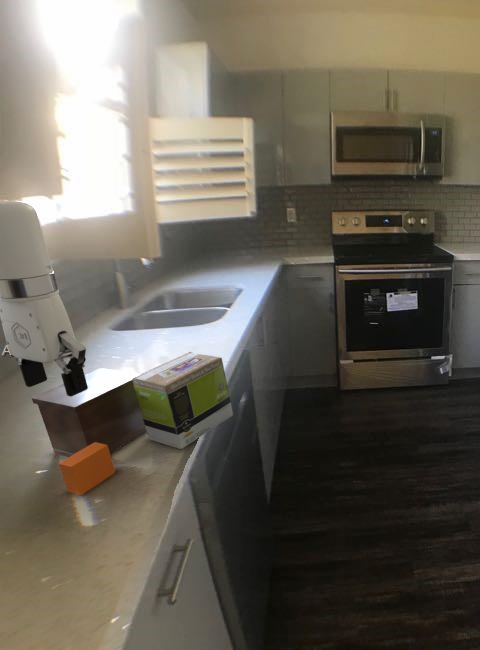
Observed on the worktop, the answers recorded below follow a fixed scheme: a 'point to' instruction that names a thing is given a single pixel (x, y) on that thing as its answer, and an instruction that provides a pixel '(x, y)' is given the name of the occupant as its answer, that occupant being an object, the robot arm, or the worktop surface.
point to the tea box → (183, 398)
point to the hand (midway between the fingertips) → (57, 388)
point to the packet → (87, 468)
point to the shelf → (92, 413)
